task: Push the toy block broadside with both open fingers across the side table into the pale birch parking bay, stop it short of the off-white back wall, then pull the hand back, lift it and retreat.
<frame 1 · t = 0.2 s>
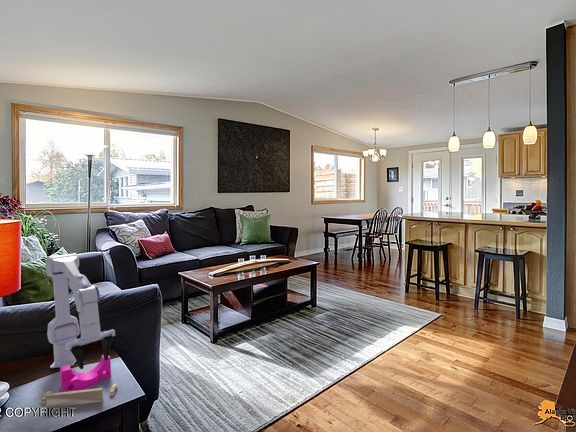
hand: (94, 363, 115), 10 cm above the table, tool pointing down, fingers open, 7 cm apart
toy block: (87, 384, 122), on the table
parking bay: (79, 397, 114), on the table
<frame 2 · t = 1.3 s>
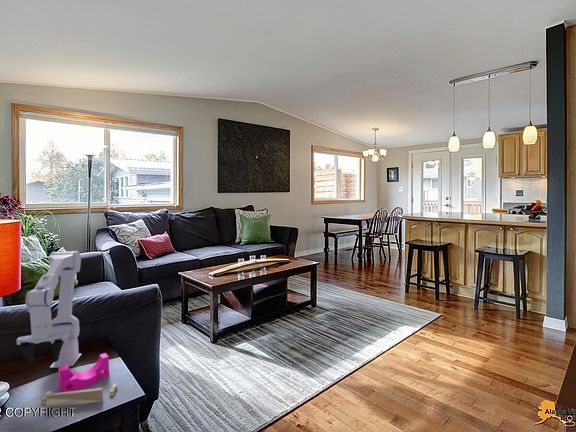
hand: (44, 361, 119), 9 cm above the table, tool pointing down, fingers open, 7 cm apart
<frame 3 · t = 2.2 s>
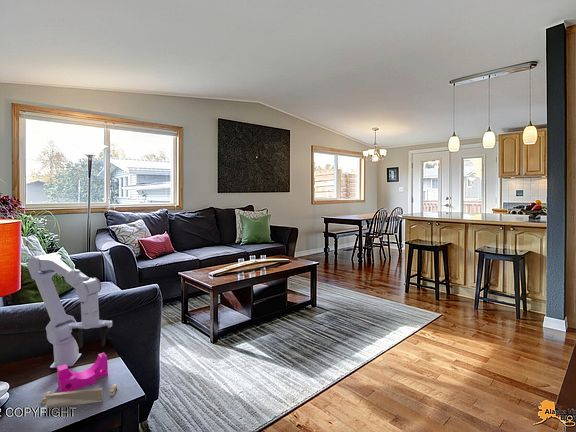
hand: (91, 346, 130), 9 cm above the table, tool pointing down, fingers open, 7 cm apart
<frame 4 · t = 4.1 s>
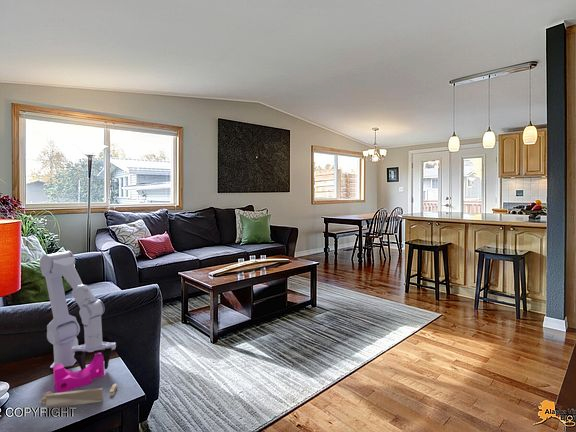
hand: (95, 369, 129), 1 cm above the table, tool pointing down, fingers open, 7 cm apart
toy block: (80, 382, 123), on the table, touching gripper
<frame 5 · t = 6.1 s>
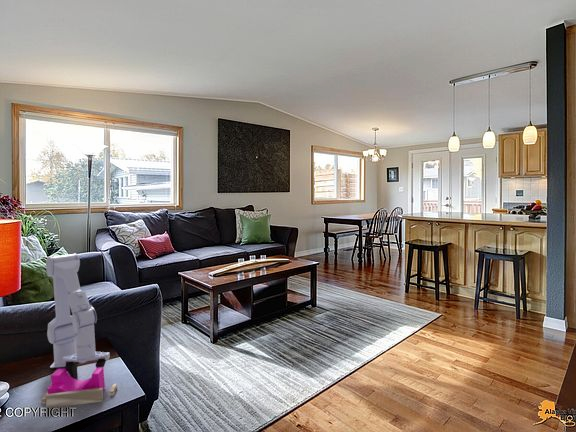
hand: (87, 380, 122), 1 cm above the table, tool pointing down, fingers open, 7 cm apart
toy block: (77, 394, 116), on the table, touching gripper
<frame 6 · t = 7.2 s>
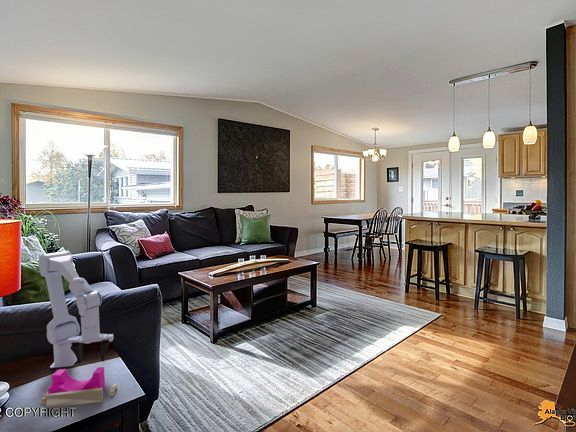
hand: (92, 361, 127), 6 cm above the table, tool pointing down, fingers open, 7 cm apart
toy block: (77, 394, 116), on the table
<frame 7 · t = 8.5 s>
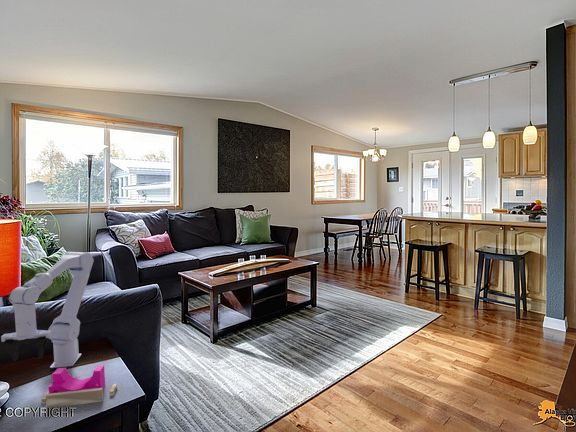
hand: (28, 358, 121), 9 cm above the table, tool pointing down, fingers open, 7 cm apart
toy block: (78, 393, 117), on the table
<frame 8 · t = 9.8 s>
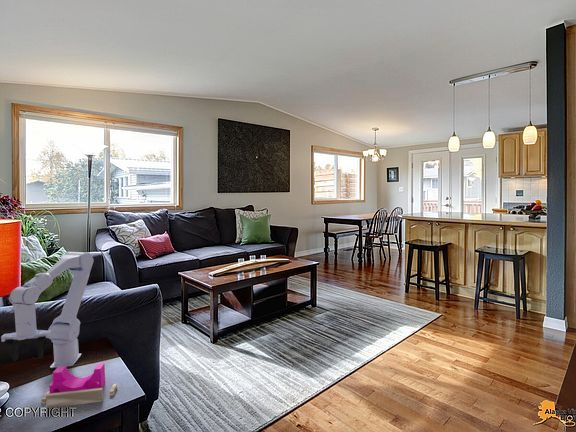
hand: (28, 358, 121), 9 cm above the table, tool pointing down, fingers open, 7 cm apart
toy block: (78, 391, 118), on the table
at the end: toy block 3.0 cm from the target spot, on the table; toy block tilted 0°; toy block moved 3.9 cm from its start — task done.
